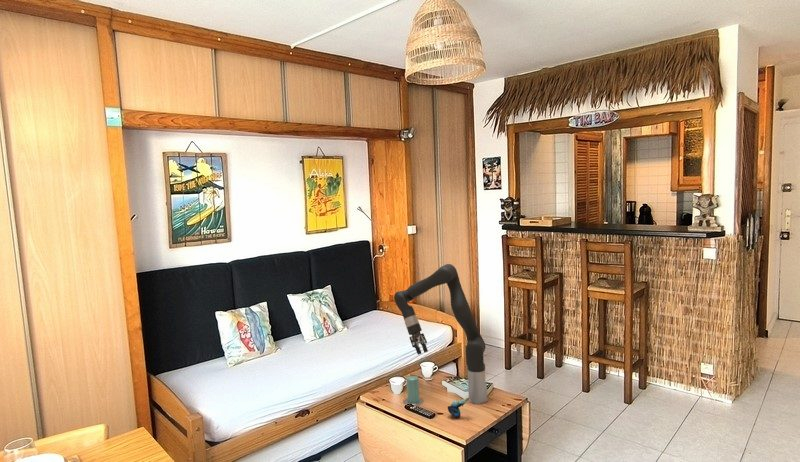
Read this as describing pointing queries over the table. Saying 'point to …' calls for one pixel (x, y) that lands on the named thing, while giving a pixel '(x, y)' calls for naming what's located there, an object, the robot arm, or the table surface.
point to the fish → (456, 407)
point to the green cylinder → (412, 389)
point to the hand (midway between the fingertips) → (423, 353)
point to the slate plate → (414, 404)
